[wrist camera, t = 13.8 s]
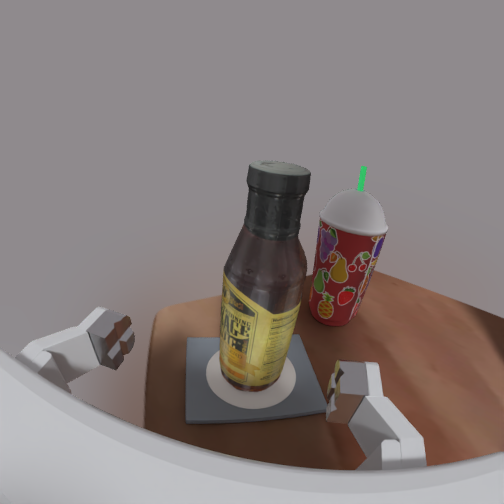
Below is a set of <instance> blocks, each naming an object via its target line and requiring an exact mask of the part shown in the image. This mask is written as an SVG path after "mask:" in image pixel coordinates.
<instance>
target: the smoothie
mask: <svg viewBox="0 0 504 504" xmlns="http://www.w3.org/2000/svg"><path fill="white" fill-rule="evenodd" d="M366 169H367V167H365V166H361V171H360V177H359V183H358V189H347V190H343V191H341V192H339V193H337V194H336V195H334V196H333V197H332V198H331V199H330V200H329V202H328V203H327V205H326V206H325V208H324V209H323V210H321V211H320V213H319V216H320V221H319V229H318V238H317V247H316V254H315V262H314V269H313V276H312V284H311V290H310V297H309V306H310V308H311V313H312V315H313V317H314V318H315V319H316V320H318V321H319V322H321V323H323V324H325V325H329V326H342V325H345V324H347V323H348V322H349V321H350V320H351V319H352V318H354V317H355V315H356V314H357V311H358V309H359V306H360V304H361V302H362V299H363V297H364V294H365V292H366V289H367V286H368V284H369V281H370V279H371V276H372V273H373V271H374V267H375V265H376V262H377V259H378V257H379V254H380V251H381V248H382V245H383V242H384V239H385V235H386V233H387V231H388V226H387V225H386V220H385V215H384V212H383V209H382V207H381V205H380V203H379V202H378V201H377V199H376V198H375V197H374V196H373V195H371V194H370V193H368V192H367V191H364V190H363V186H364V181H365V175H366Z"/></svg>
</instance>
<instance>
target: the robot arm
mask: <svg viewBox="0 0 504 504" xmlns="http://www.w3.org/2000/svg"><path fill="white" fill-rule="evenodd" d="M131 324H132V323H131V320H130V317H128V316H127V315H124V314H121V313H118V312H114V311H112V310H108V309H106V308H103V307H97V308H96V309H95V310H94V311H93V312H92V313H91V314H90V315H89V316H88V317H87V318H85V319H84V320H83V322H82V323H81V324H79V325H78V327H71V328H69V329H66V330H63V331H60V332H57V333H54V334H52V335H48V336H45V337H43V338H40V339H37V340H34V341H31V342H30V343H29V344H28V345H27V346H26V347H25V348H24V349H23V350H22V351H21V352H20V353H19V354H18V355H17V356H16V357H15V358H14V357H13V356H12V355H10V354H9V353H8V352H6V351H5V350H4V349H2V348H1V347H0V504H504V452H496V453H492V454H489V455H485V456H481V457H477V458H472V459H468V460H463V461H458V462H453V463H447V464H441V465H434V466H427V465H426V456H425V449H424V442H423V437H422V436H421V435H420V434H419V433H418V432H417V430H416V429H415V428H414V427H413V426H412V425H411V424H410V422H409V421H408V420H407V419H406V418H405V417H404V416H403V415H402V413H401V412H400V411H399V410H398V409H397V408H396V407H395V405H394V404H393V403H392V402H391V401H390V400H389V399H388V398H387V397H383V391H382V384H381V377H380V370H379V365H378V363H373V362H360V361H350V360H340V359H338V360H337V362H336V365H335V373H333V374H332V375H331V378H330V381H329V385H328V391H327V398H328V400H329V403H328V405H327V409H326V422H334V423H344V424H348V426H349V428H350V430H351V431H352V433H353V435H354V437H355V438H356V440H357V442H358V443H359V445H360V447H361V448H362V450H363V452H364V453H365V455H366V457H367V459H366V460H365V461H364V462H363V463H362V464H361V465H360V466H359V467H358V468H357V469H356V470H329V469H315V468H304V467H295V466H287V465H280V464H273V463H267V462H261V461H255V460H250V459H245V458H240V457H236V456H231V455H227V454H223V453H219V452H215V451H211V450H208V449H204V448H200V447H197V446H193V445H190V444H187V443H184V442H181V441H177V440H174V439H171V438H169V437H166V436H163V435H160V434H157V433H155V432H152V431H149V430H147V429H144V428H142V427H139V426H137V425H134V424H132V423H129V422H127V421H125V420H122V419H120V418H118V417H116V416H113V415H111V414H109V413H107V412H105V411H103V410H101V409H98V408H97V407H95V406H93V405H91V404H88V403H87V402H85V401H83V400H81V399H79V398H77V397H76V396H74V395H72V394H71V390H70V389H69V387H68V385H67V383H68V382H70V381H72V380H74V379H76V378H78V377H80V376H81V375H83V374H85V373H87V372H89V371H90V370H92V369H94V368H96V367H98V366H99V365H103V366H106V367H109V368H111V369H114V370H117V369H118V367H119V366H120V364H121V363H122V362H123V360H124V356H123V355H125V354H128V353H129V352H130V351H131V349H132V348H133V345H134V340H135V338H134V337H135V336H134V332H133V331H132V329H131V328H130V325H131Z"/></svg>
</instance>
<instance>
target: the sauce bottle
mask: <svg viewBox="0 0 504 504" xmlns="http://www.w3.org/2000/svg"><path fill="white" fill-rule="evenodd" d="M310 176H311V173H310V171H309V170H308V169H306V168H304V167H301V166H298V165H294V164H289V163H284V162H278V161H255V162H253V163H251V164H250V165H249V170H248V176H247V184H248V187H249V193H248V200H247V213H246V217H245V219H244V225H243V227H242V229H241V231H240V233H239V236H238V238H237V240H236V242H235V244H234V247H233V249H232V251H231V253H230V255H229V257H228V260H227V262H226V264H225V266H224V273H223V290H222V303H221V323H220V353H219V362H220V368H221V373H222V376H223V377H224V378H225V380H226V381H227V382H228V383H229V384H230V385H232V386H233V387H234V388H236V389H237V390H241V391H249V392H259V391H263V390H265V389H267V388H269V387H271V386H272V385H273V384H274V383H275V382H277V380H278V379H279V377H280V375H281V372H282V370H283V367H284V363H285V360H286V356H287V352H288V349H289V345H290V342H291V338H292V334H293V330H294V327H295V323H296V319H297V315H298V311H299V308H300V304H301V300H302V289H303V285H304V281H305V278H306V272H307V260H306V256H305V254H304V250H303V249H302V246H301V243H300V241H299V239H298V234H299V229H300V218H301V213H302V207H303V201H304V196H305V195H306V193H307V191H308V190H309V184H310Z"/></svg>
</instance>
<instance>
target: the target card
mask: <svg viewBox="0 0 504 504" xmlns="http://www.w3.org/2000/svg"><path fill="white" fill-rule="evenodd" d="M219 353H220V338H187V354H186V423H187V424H210V423H238V422H253V421H264V420H274V419H283V418H291V417H298V416H305V415H311V414H317V413H323V412H326V409H327V403H326V401H325V398H324V396H323V393H322V390H321V388H320V385H319V383H318V380H317V378H316V375H315V373H314V370H313V368H312V365H311V363H310V360H309V358H308V355H307V353H306V350H305V348H304V345H303V343H302V340H301V338H300V336H299V334H295V335H292V338H291V342H290V345H289V349H288V352H287V356H286V360H285V363H284V367H283V370H282V372H281V375H280V377H279V379H278V380H277V382H275V383H274V384H273V385H272V386H271V387H269V388H267V389H265V390H263V391H259V392H249V391H241V390H237V389H236V388H234V387H233V386H232V385H230V384H229V383H228V382H227V381H226V380H225V378H224V377H223V376H222V373H221V368H220V362H219Z"/></svg>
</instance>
